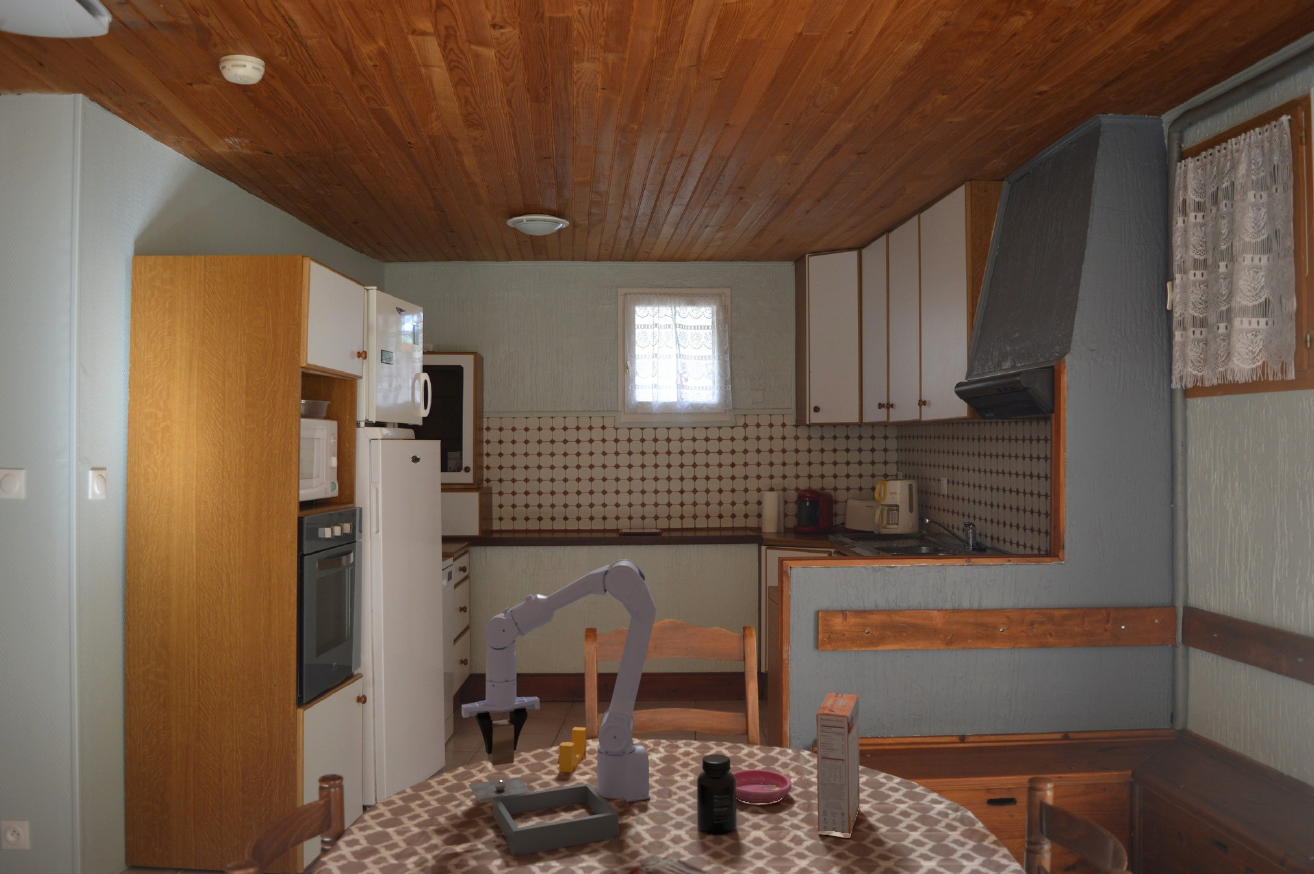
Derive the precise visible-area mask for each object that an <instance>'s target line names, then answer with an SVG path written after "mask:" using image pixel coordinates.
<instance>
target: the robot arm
mask: <svg viewBox="0 0 1314 874" xmlns="http://www.w3.org/2000/svg"><path fill="white" fill-rule="evenodd" d="M610 565H611V566H610ZM607 592H608V593H609V595H610V596H612V597H613V598H614V599H615V600H617V601H619V602H620V603H621V604H622V606H624V608H625V610H626V611H627V612H628V614H629V616H630V620H629V625H628V628H627V632H626V633H627V634H626V638H625V642H624V646H623V649H622V655H621V659H620V660H621V661H620V663H619V668H618V671H617V676H616V680H615V683H614V684H615V685H614V689H613V691H612V697H611V701H610V705H609V707H608V709H607V710H606V711H605V712H604V714H603V715H602V718H601V725H600V728H599V730H598V732H597V733H598V734H597V739H598V740H597V741H598V744H597V753H596V755H597V756H596V757H597V759H596V760H597V761H596V762H597V763H596V765H597V767H596V770H597V771H596V772H597V774H596V776H597V778H596V790H597V791H598V792H599V793H600V794H601V796H602V797H603V798H605V799H606V798H607V799H615V800H616V799H624V801H626V803H630V802H637V801H643V800H649V799H651V794H650V761H649V755H648V751H647V749H646V747H645V746H644V745H642V744H638V745H636V743H635V742H634V741H633V730H634V727H635V718H634V716H633V713H634V710H635V703H636V699H637V694H638V692H639V691H638V690H639V688H640V682H641V679H642V674H643V670H644V666H645V662H646V661H645V660H646V659H647V657H646V656H647V654H648V653H647V652H648V648H649V644H650V640H651V637H652V631H653V627H654V624H655V619H656V615H657V606H656V603H655V600H654V597H653V594H652V592H651V588H650V587H649V583H648V581H647V578H646V575H645V573H644V572H643V571H642V569H641V568H640V567H639V566H638V565H637V564H636V563H635V562H634V561H632V560H631V559H626V558H623V559H622V558H621V559H618V560H616V561H614V562H613V563H612V564H607V565H604V566H603V565H602V566H601V567H599V568H597V569H594V570H592V571H589V572H588V573H586V574H585V575H582V576H581V577H579V578H578V579H576V580H574V581H572V582H570V583H569V584H567V585H565V586H563V587H562V588H560V589H558V590H556V591H555V592H553V593H551V594H549V595H543V594H541V593H540V594H539V593H537V594H535V595H533V593H531V594H528V595H527V596H525V597H524V601H522V602H520V603H519V604H516V605H514V606H512V607H510V608H509V607H505V608H503V610H502V612H503V613H502V612H501V613H498V614H496V615H495V616H493V617H492V618H491V619H490V620H489V621H488V622H487V623H486V624H485V627H484V629H483V639H484V641H485V643H486V654H485V700H480V701H476V702H471V703H467V704H466V703H465V704H461V716H462V717H463V719H465V718H467V719H468V718H469V717H473V716H474V718H475V720H476V722H477V724H478V726H479V729H480V731H481V735H482V738H483V742H484V748H485V752H486V754H487V755H488V754H492V740H491V735H492V723H493V719H492V716H491V714H499V713H507V712H508V715H509V720H510V721H511V723H512V724H513V725H514V752H515V751H517V746H518V741H519V737H520V735H521V732H522V729H523V727H524V725H525V723H526V721H527V719H528V712H527V710H540V709H541V708H540V705H541V704H540V702H541V701H540V700H541V699H540V698H539V697H537V696H520V697H518V696H517V652H516V650H517V649H516V647H517V645H516V643H517V641H516V638H518V637H524V636H525V635H527V634H530V633H531V632H533V631H535V630H537V629H538V628H541V627H543V626H544V625H547V624H549V623H550V622H552V620H553V618H554V614H555V612H557V611H558V610H561V609H562V608H565V607H566V606H568V605H570V604H572V603H575V602H576V601H578V600H580V599H582V598H585V597H587V596H589V595H591V594H592V595H598V596H606V594H607Z"/></svg>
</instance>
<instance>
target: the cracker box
mask: <svg viewBox="0 0 1314 874" xmlns="http://www.w3.org/2000/svg"><path fill="white" fill-rule="evenodd" d="M859 706H860V705H859V695H858V694H852V693H851V694H847V693H841V692H840V693H839V692H828V693H827V694H826V696H825V698H824V700H823V702H822V704H821V706H820V708H819V709H818V711H817V712H816V716H815V717H816V718H815V720H816V772H817V773H816V774H817V775H816V781H817V782H816V783H817V784H816V788H817V790H816V791H817V792H816V793H817V795H816V796H817V832H818V831H835V832H841V833H849V834H850V833H851V831H852V829H853V825H854V822H855V818H856V815H857V812H858V813H859V811H858V808H859V804H860V805H861V803H860V801H861V800H860V797H861V796H860V795H861V794H860V793H861V792H860V719H859V718H860V717H859V716H860V715H859V713H860V710H859V709H860V708H859ZM859 809H860V808H859ZM857 816H858V815H857ZM856 819H857V818H856ZM855 823H856V822H855ZM854 826H855V825H854ZM853 830H854V829H853Z"/></svg>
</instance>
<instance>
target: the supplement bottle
mask: <svg viewBox="0 0 1314 874" xmlns="http://www.w3.org/2000/svg"><path fill="white" fill-rule="evenodd" d="M701 768H702V769H701V770H702V772H700V773H699V774H698V776H697V779H696V803H697V804H696V808H697V809H696V811H697V812H696V815H697V819H696V820H697V822H696V823H697V828H698V829H699V831H701V832H702V833H704V834H706V833H707V835H710V834H712V835H711V836H725V835H724V834H726V835H729V834H732V833H733V832H735V830H736V829H737V823H738V822H737V817H738V816H737V812H738V811H737V807H738V806H737V799H736V778H735V776H734V775H733V774H732V773H733V772H731V758H730V756H728V755H725V754H721V753H720V754H719V753H713V754H707V755H704V756H703V757H702V766H701ZM732 831H733V832H732ZM731 832H732V833H731ZM728 833H729V834H728Z"/></svg>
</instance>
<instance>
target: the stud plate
mask: <svg viewBox="0 0 1314 874" xmlns="http://www.w3.org/2000/svg"><path fill="white" fill-rule="evenodd" d="M468 787H469V788H470V789H471V792H472V793H473V795H474V797H475V798H476V801H478V804H479V805H481V804H486V803H493V798H495V797H501V796H508V795H515V794H521V793H528V792H531V790H530V789H529V788H528V786H527V785H526V783H525V782H524V780H522V778H521V776H519V777H518V776H517V777H509V778H505V779H497V780H490V781H482V782H475V783H469V784H468Z"/></svg>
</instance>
